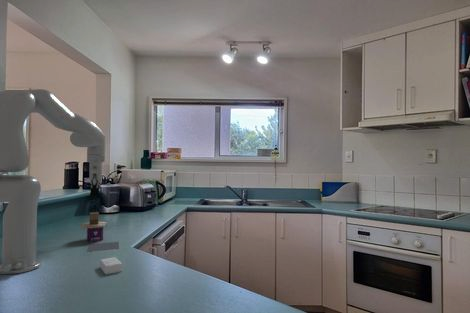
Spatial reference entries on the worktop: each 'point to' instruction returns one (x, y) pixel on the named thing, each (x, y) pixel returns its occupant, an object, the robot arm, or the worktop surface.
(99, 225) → the lid
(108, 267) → the soap
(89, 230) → the mug
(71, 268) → the worktop surface
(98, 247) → the mat
